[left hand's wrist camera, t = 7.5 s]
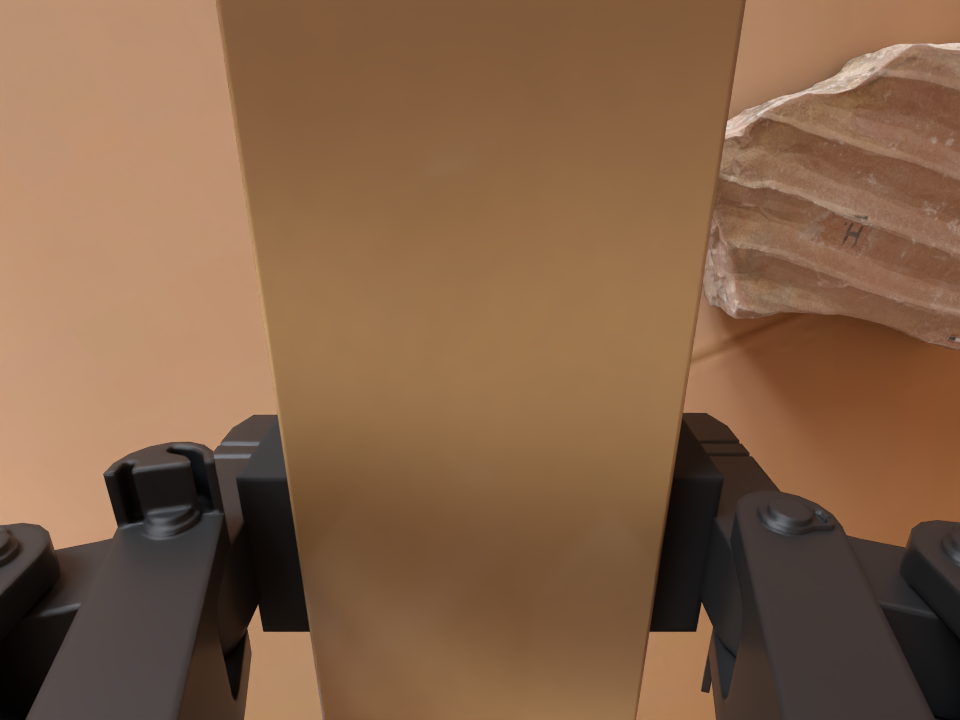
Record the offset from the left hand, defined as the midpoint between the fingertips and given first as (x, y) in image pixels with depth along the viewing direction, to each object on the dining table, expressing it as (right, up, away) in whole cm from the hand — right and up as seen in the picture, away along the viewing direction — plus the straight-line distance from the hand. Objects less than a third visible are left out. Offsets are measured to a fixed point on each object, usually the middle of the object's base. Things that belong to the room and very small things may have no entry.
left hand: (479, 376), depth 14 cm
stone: (+15, +6, +11) cm, 20 cm away
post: (0, +19, -7) cm, 20 cm away
